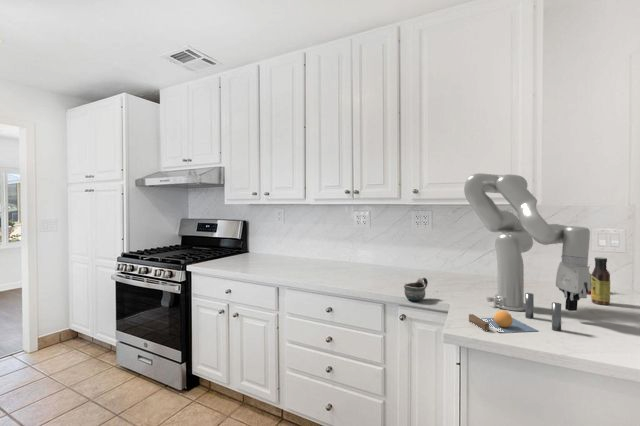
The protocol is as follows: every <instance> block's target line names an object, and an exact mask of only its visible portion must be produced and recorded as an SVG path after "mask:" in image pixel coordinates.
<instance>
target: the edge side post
mask: <svg viewBox="0 0 640 426" xmlns="http://www.w3.org/2000/svg"><path fill="white" fill-rule="evenodd" d="M551 330H552V331H554V332H562V303H560V302H551Z"/></svg>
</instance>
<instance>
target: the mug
mask: <svg viewBox="0 0 640 426" xmlns="http://www.w3.org/2000/svg"><path fill="white" fill-rule="evenodd" d="M428 282H429V281H428V279H427V278H426V277H424V276H420V277H418V278H417V280H416V282H408V283H405V284H403V288H404V295H405V297H406V299H408V300H409V301H412V302H419V301H423V300H424V299H425V297H426V289H427V287H428V284H429V283H428Z"/></svg>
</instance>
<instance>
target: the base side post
mask: <svg viewBox="0 0 640 426" xmlns="http://www.w3.org/2000/svg"><path fill="white" fill-rule="evenodd" d="M524 295H525V297H524V303H525V310H524V311H525V312H524V313H525V314H524V315H525V318H526V319H530V320H533V319H534V316H535V314H534V313H535V312H534V307H535V306H534V305H535V304H534V302H535V301H534V300H535V299H534V293H531V292H525V293H524Z"/></svg>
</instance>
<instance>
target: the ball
mask: <svg viewBox="0 0 640 426" xmlns="http://www.w3.org/2000/svg"><path fill="white" fill-rule="evenodd" d="M493 318H494V320H495V322H496V324H497V325H498V326H500V327H504V328H505V327H509V326H510V325H511V324H512V318H513V317H512V315H511V313H509V312H508V311H506V310H498V311H497V312H495V314H494V317H493Z"/></svg>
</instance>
